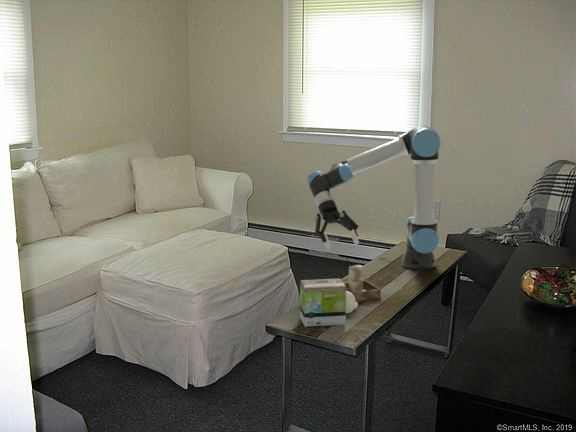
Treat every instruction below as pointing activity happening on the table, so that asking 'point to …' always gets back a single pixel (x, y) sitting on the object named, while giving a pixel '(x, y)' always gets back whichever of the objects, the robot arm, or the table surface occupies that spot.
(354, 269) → the beige block
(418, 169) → the robot arm
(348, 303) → the rabbit
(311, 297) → the tea box
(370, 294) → the open brown box
